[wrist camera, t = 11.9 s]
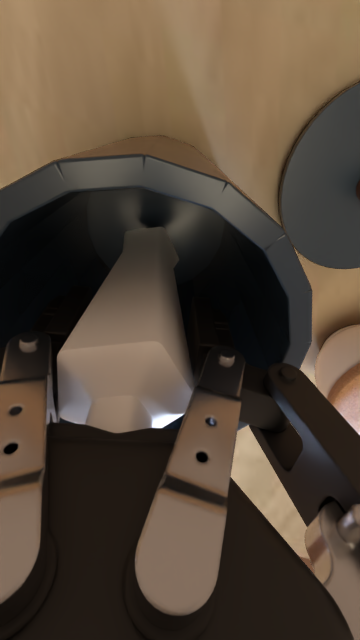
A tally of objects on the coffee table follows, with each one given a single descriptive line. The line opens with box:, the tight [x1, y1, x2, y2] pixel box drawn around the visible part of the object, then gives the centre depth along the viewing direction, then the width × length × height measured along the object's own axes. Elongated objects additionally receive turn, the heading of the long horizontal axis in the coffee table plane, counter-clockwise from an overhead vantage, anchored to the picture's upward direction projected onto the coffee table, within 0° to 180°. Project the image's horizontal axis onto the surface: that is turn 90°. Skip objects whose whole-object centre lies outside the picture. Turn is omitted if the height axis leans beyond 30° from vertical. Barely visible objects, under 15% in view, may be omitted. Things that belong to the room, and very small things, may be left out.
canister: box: [0, 135, 312, 431], centre depth 18 cm, size 13×13×17 cm
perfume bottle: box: [57, 227, 195, 433], centre depth 13 cm, size 5×4×15 cm
